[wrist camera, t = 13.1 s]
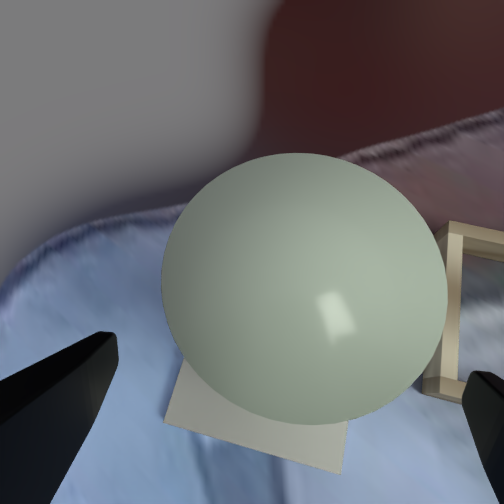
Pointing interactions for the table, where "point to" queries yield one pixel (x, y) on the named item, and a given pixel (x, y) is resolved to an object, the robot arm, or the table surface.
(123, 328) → the table surface
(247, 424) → the cream square tile
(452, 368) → the birch collar
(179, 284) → the ceramic canister
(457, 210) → the table surface
